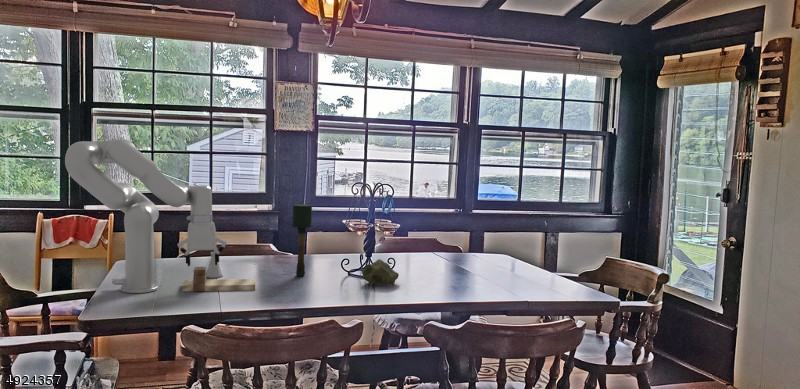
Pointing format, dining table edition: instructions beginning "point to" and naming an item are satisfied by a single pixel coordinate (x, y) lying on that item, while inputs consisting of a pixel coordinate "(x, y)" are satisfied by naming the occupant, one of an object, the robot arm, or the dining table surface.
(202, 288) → the brown wooden block
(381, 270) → the decorative rock
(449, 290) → the dining table surface
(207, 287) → the board
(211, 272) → the flask
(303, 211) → the potato masher grenade
